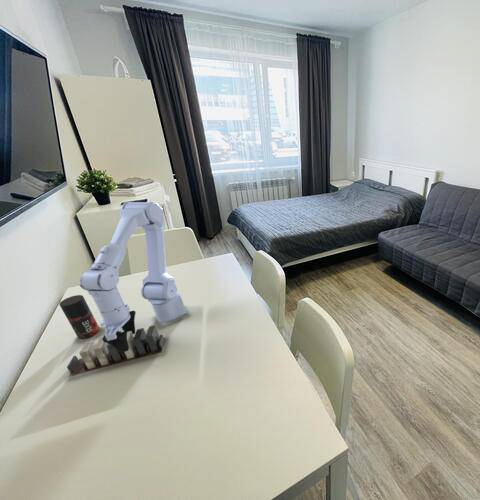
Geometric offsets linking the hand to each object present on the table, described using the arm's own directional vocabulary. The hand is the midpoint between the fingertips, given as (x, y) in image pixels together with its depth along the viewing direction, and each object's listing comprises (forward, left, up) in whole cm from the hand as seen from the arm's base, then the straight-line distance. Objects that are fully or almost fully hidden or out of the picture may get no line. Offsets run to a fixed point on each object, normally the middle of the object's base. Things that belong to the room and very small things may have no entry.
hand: (128, 342), depth 84 cm
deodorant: (+10, -21, -6) cm, 24 cm away
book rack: (+3, -1, -5) cm, 6 cm away
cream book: (0, 0, -4) cm, 4 cm away
